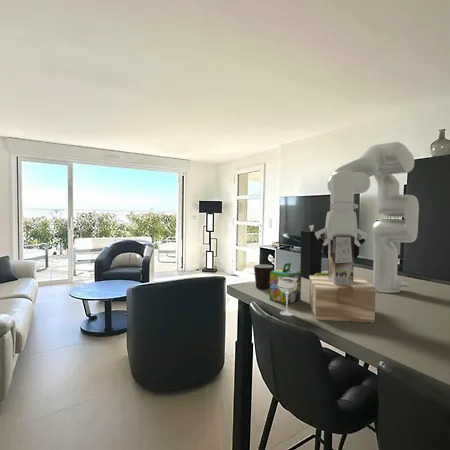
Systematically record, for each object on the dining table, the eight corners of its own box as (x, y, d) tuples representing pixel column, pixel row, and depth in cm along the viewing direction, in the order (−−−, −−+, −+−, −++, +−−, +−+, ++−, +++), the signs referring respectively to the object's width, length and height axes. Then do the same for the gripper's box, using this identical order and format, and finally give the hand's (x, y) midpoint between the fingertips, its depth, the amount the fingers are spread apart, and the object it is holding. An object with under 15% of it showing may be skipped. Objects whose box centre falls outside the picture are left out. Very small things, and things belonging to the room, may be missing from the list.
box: (309, 303, 116) (310, 277, 115) (359, 306, 113) (360, 279, 112) (315, 319, 99) (316, 289, 98) (374, 322, 96) (375, 291, 96)
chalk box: (282, 295, 127) (282, 260, 126) (301, 300, 120) (302, 263, 120) (268, 299, 120) (269, 262, 120) (288, 305, 114) (289, 265, 113)
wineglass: (284, 317, 100) (284, 281, 100) (273, 311, 106) (273, 277, 106) (301, 315, 103) (301, 279, 102) (289, 309, 109) (289, 275, 109)
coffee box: (354, 285, 101) (355, 236, 100) (334, 284, 101) (335, 236, 100) (345, 278, 110) (346, 234, 109) (327, 278, 110) (328, 234, 109)
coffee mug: (260, 284, 145) (260, 263, 145) (276, 287, 140) (276, 266, 139) (246, 289, 136) (246, 267, 136) (262, 292, 131) (262, 269, 130)
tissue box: (299, 276, 164) (300, 224, 162) (311, 275, 167) (312, 224, 165) (309, 279, 156) (310, 225, 155) (321, 278, 159) (322, 225, 158)
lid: (308, 288, 115) (309, 274, 115) (361, 290, 112) (361, 276, 112) (315, 302, 98) (315, 286, 98) (377, 305, 95) (377, 289, 95)
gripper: (365, 207, 106) (363, 256, 107) (314, 207, 109) (313, 255, 110) (372, 207, 99) (370, 259, 100) (317, 207, 102) (316, 258, 103)
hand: (340, 257), depth 105 cm, fingers open, 9 cm apart
